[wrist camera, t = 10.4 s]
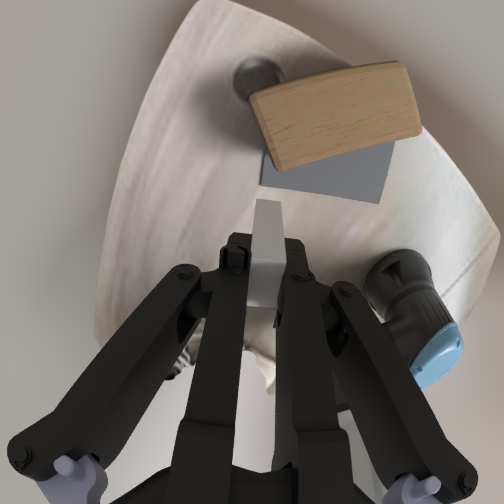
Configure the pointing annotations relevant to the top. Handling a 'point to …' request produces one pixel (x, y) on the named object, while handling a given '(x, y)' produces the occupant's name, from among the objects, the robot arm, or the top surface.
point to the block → (335, 113)
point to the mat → (337, 174)
